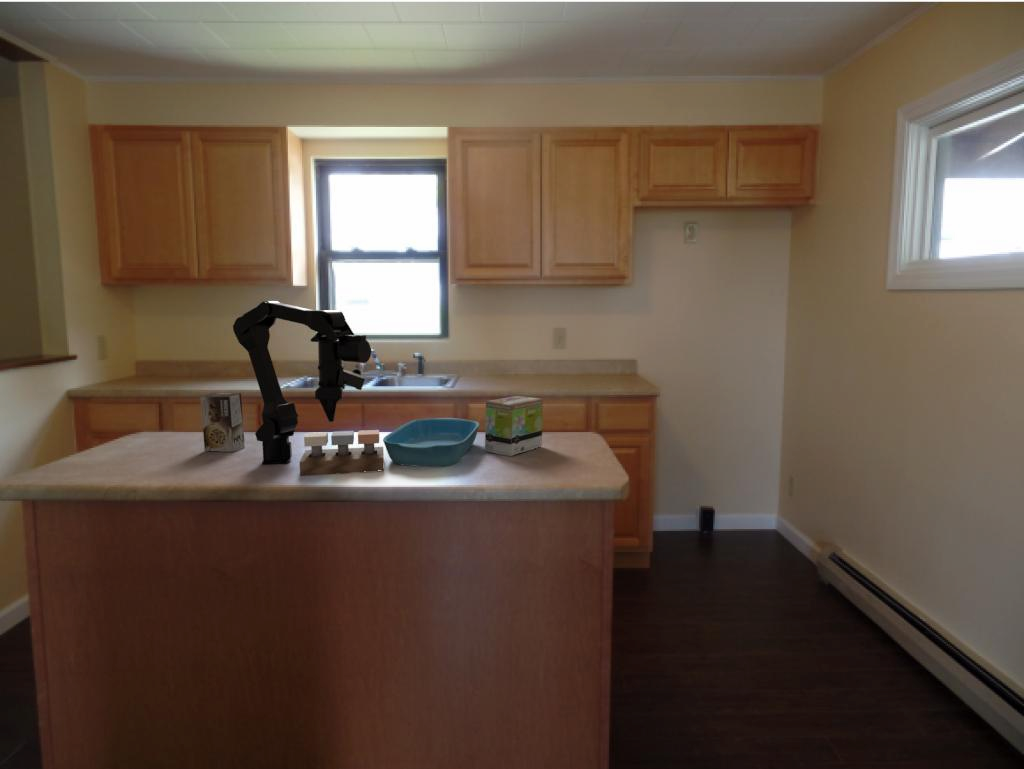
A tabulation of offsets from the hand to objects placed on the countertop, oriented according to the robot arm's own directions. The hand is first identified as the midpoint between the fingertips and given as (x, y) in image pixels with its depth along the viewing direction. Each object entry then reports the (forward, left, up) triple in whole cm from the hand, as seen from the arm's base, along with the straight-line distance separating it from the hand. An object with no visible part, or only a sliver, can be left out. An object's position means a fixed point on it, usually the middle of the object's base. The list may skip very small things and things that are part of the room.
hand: (331, 421), depth 156 cm
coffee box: (-32, +27, -12) cm, 44 cm away
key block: (+3, 0, -12) cm, 12 cm away
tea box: (+50, +10, -12) cm, 52 cm away
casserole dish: (+27, +10, -13) cm, 31 cm away
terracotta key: (+9, 0, -9) cm, 13 cm away
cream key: (-4, 0, -9) cm, 10 cm away
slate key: (+3, 0, -9) cm, 9 cm away
